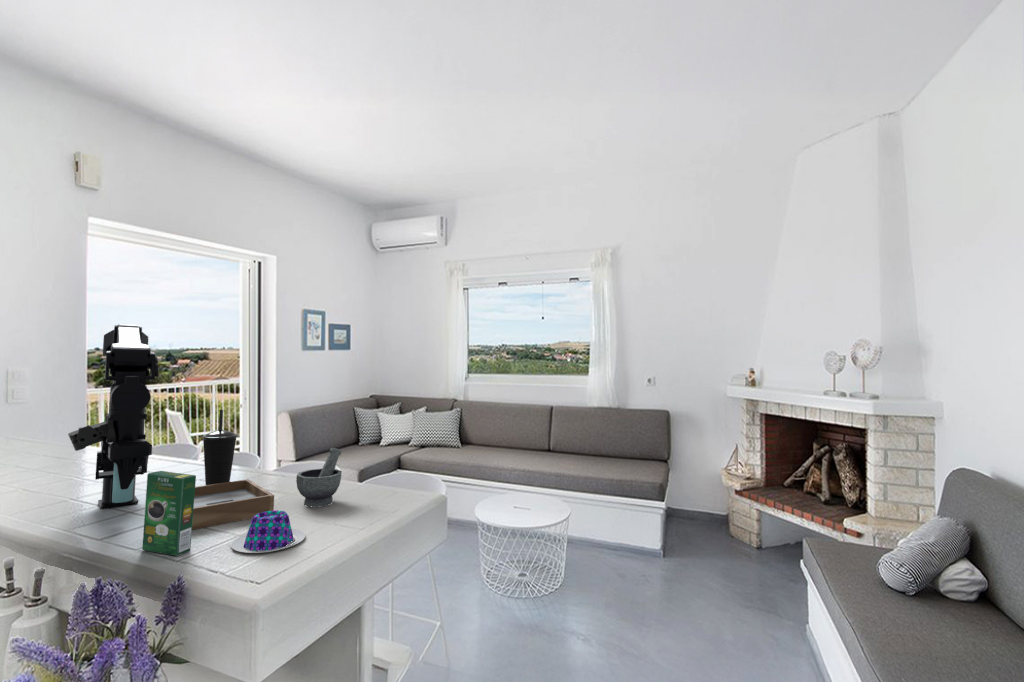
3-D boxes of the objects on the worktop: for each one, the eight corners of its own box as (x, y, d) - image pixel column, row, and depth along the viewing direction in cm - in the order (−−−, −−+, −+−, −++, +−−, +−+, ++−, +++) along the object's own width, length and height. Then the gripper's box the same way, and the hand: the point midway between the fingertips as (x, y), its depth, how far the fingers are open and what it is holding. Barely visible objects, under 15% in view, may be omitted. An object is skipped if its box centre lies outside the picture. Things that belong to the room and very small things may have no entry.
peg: (110, 500, 95) (113, 459, 95) (131, 497, 97) (133, 457, 98) (112, 503, 93) (115, 462, 93) (133, 500, 95) (135, 460, 95)
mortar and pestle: (318, 511, 104) (320, 456, 105) (285, 506, 107) (288, 452, 108) (353, 498, 114) (355, 448, 115) (322, 493, 118) (324, 445, 118)
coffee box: (193, 550, 82) (197, 473, 82) (177, 557, 79) (182, 477, 79) (157, 545, 84) (161, 469, 84) (140, 551, 81) (145, 473, 82)
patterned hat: (313, 531, 93) (314, 504, 93) (293, 556, 81) (294, 524, 81) (247, 532, 91) (249, 505, 92) (217, 558, 80) (219, 526, 80)
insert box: (166, 509, 103) (167, 490, 104) (247, 496, 115) (248, 479, 115) (184, 531, 91) (185, 510, 91) (273, 514, 102) (274, 495, 102)
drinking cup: (223, 495, 115) (227, 411, 116) (191, 494, 115) (196, 411, 116) (241, 486, 123) (245, 408, 124) (212, 486, 123) (216, 408, 124)
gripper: (70, 407, 97) (66, 485, 96) (75, 415, 84) (70, 505, 83) (140, 404, 105) (135, 476, 104) (154, 411, 91) (150, 494, 91)
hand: (123, 487), depth 95 cm, fingers closed on peg, 3 cm apart
